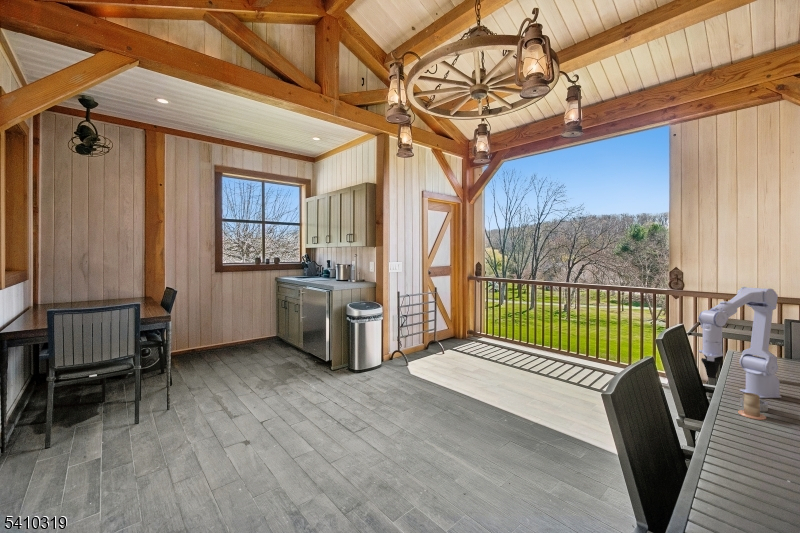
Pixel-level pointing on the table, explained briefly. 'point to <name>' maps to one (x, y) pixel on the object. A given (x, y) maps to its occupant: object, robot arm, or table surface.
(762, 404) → the collar
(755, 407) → the peg
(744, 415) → the coaster
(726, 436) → the table surface
